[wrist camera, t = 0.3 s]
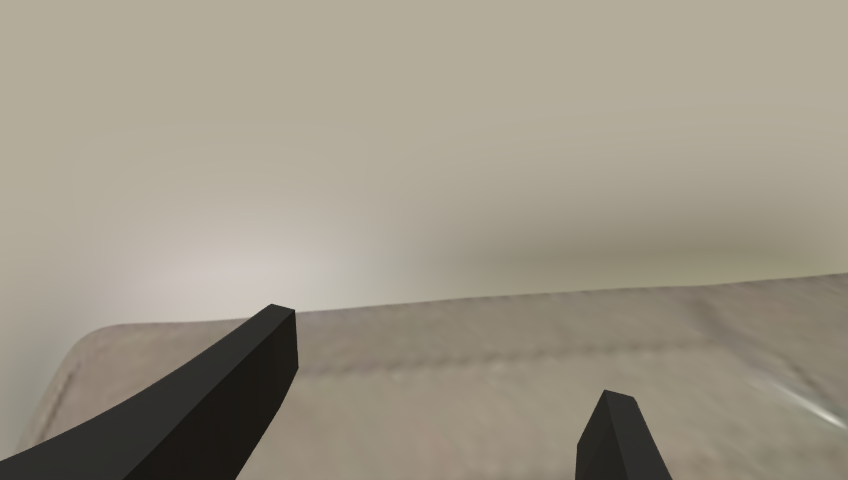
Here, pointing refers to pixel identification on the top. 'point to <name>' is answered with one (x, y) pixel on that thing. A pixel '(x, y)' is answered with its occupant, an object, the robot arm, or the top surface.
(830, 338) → the top surface
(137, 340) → the top surface
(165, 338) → the top surface
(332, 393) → the top surface
